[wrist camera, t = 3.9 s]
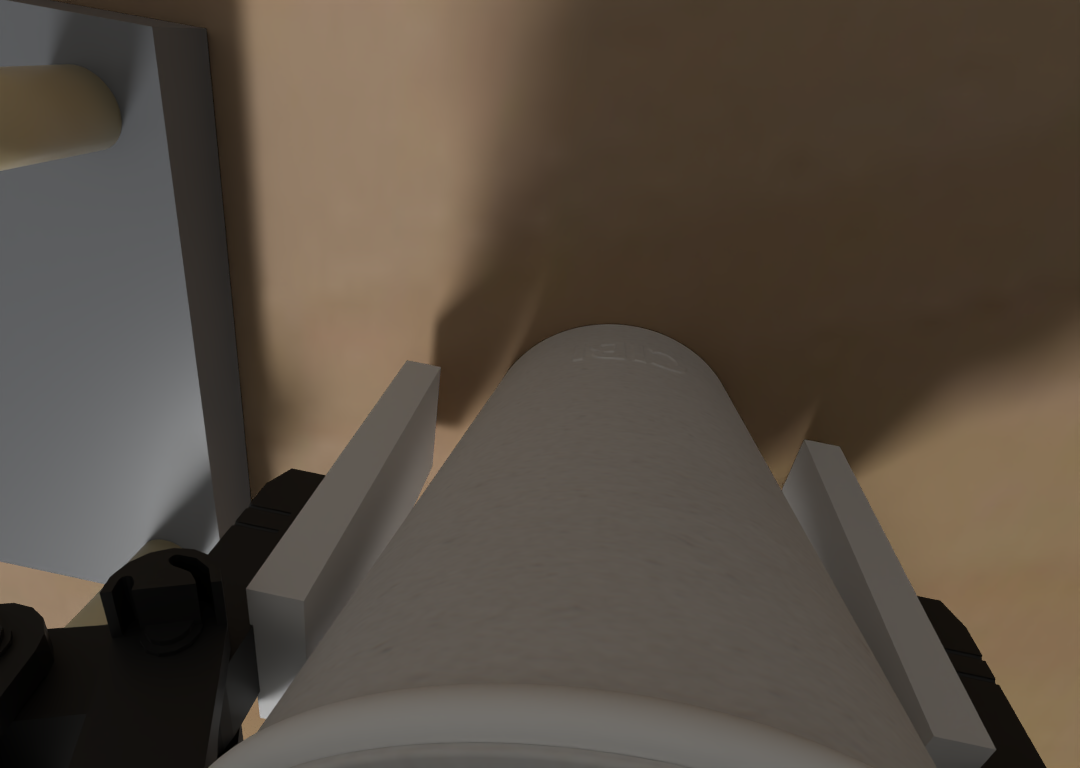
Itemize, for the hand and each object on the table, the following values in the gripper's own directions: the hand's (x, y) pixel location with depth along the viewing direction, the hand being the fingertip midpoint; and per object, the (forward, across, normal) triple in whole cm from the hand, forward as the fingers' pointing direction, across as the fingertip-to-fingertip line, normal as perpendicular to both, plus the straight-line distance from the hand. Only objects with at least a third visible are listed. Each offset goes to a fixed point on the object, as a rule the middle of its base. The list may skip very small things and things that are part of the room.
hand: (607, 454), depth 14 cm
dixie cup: (+1, 0, 0) cm, 1 cm away
